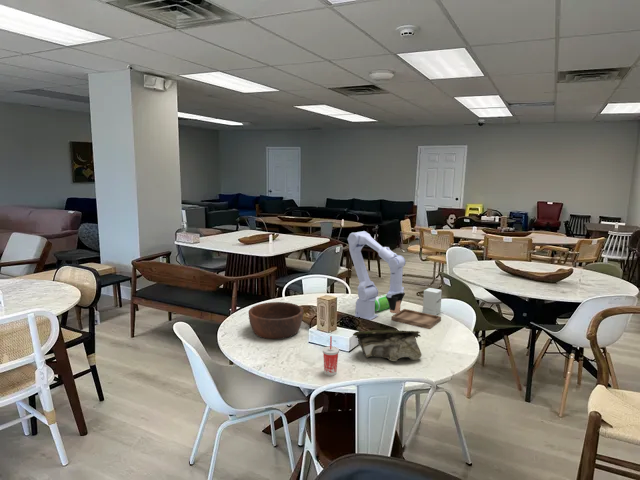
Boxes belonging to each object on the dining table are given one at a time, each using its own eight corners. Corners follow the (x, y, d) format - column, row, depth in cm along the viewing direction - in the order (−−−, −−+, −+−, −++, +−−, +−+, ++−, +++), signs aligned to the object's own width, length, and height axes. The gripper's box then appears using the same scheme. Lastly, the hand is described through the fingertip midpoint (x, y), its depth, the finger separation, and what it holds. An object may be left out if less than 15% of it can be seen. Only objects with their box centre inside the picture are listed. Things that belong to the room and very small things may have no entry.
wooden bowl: (312, 326, 199) (312, 306, 198) (286, 346, 177) (286, 323, 175) (267, 318, 210) (267, 299, 208) (237, 336, 187) (237, 314, 186)
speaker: (377, 314, 218) (377, 300, 217) (366, 310, 224) (366, 297, 222) (397, 307, 230) (397, 294, 229) (386, 304, 235) (387, 291, 234)
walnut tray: (391, 320, 209) (391, 316, 209) (404, 312, 221) (404, 308, 221) (429, 329, 198) (429, 325, 197) (440, 320, 210) (441, 316, 209)
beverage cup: (337, 377, 151) (338, 340, 148) (320, 375, 152) (321, 339, 149) (339, 369, 157) (340, 334, 154) (323, 367, 158) (324, 332, 155)
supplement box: (435, 316, 216) (436, 292, 214) (422, 313, 220) (423, 290, 218) (440, 312, 221) (442, 289, 219) (427, 309, 226) (428, 287, 224)
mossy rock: (352, 367, 168) (353, 353, 156) (351, 338, 176) (352, 322, 164) (422, 367, 167) (429, 353, 155) (418, 337, 175) (424, 321, 163)
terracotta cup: (387, 311, 201) (388, 300, 200) (392, 309, 205) (393, 298, 204) (397, 314, 198) (397, 302, 197) (401, 311, 202) (402, 300, 201)
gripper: (397, 285, 191) (395, 314, 193) (410, 279, 202) (409, 306, 205) (383, 283, 195) (382, 311, 197) (397, 277, 207) (395, 303, 209)
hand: (395, 308), depth 201 cm, fingers closed on terracotta cup, 5 cm apart
